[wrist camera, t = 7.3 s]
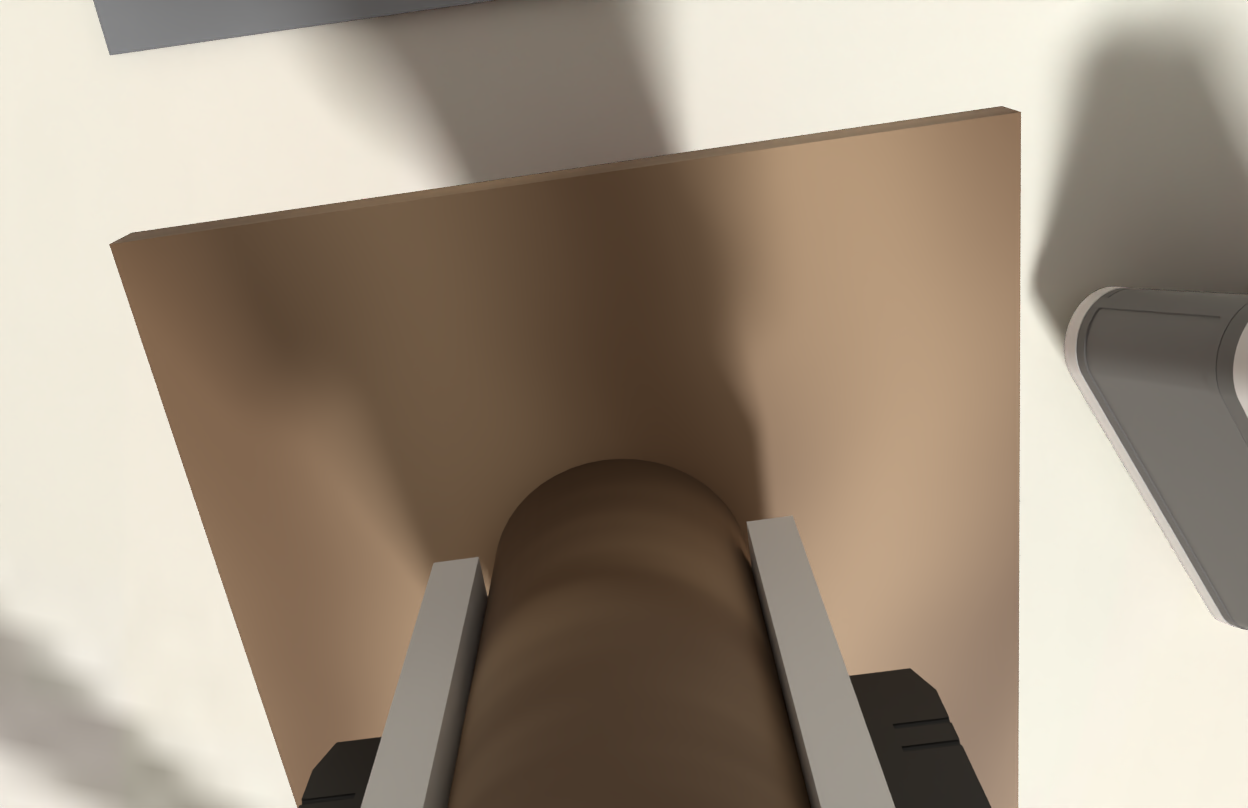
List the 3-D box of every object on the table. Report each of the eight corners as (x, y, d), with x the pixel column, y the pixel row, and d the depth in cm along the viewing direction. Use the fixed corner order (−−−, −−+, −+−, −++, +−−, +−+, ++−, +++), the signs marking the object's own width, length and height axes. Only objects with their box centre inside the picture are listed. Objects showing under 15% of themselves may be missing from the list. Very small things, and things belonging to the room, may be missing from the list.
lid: (341, 879, 22) (183, 1407, 14) (131, 233, 17) (-322, 469, 9) (1003, 799, 21) (1249, 1300, 13) (1001, 106, 16) (1404, 229, 8)
